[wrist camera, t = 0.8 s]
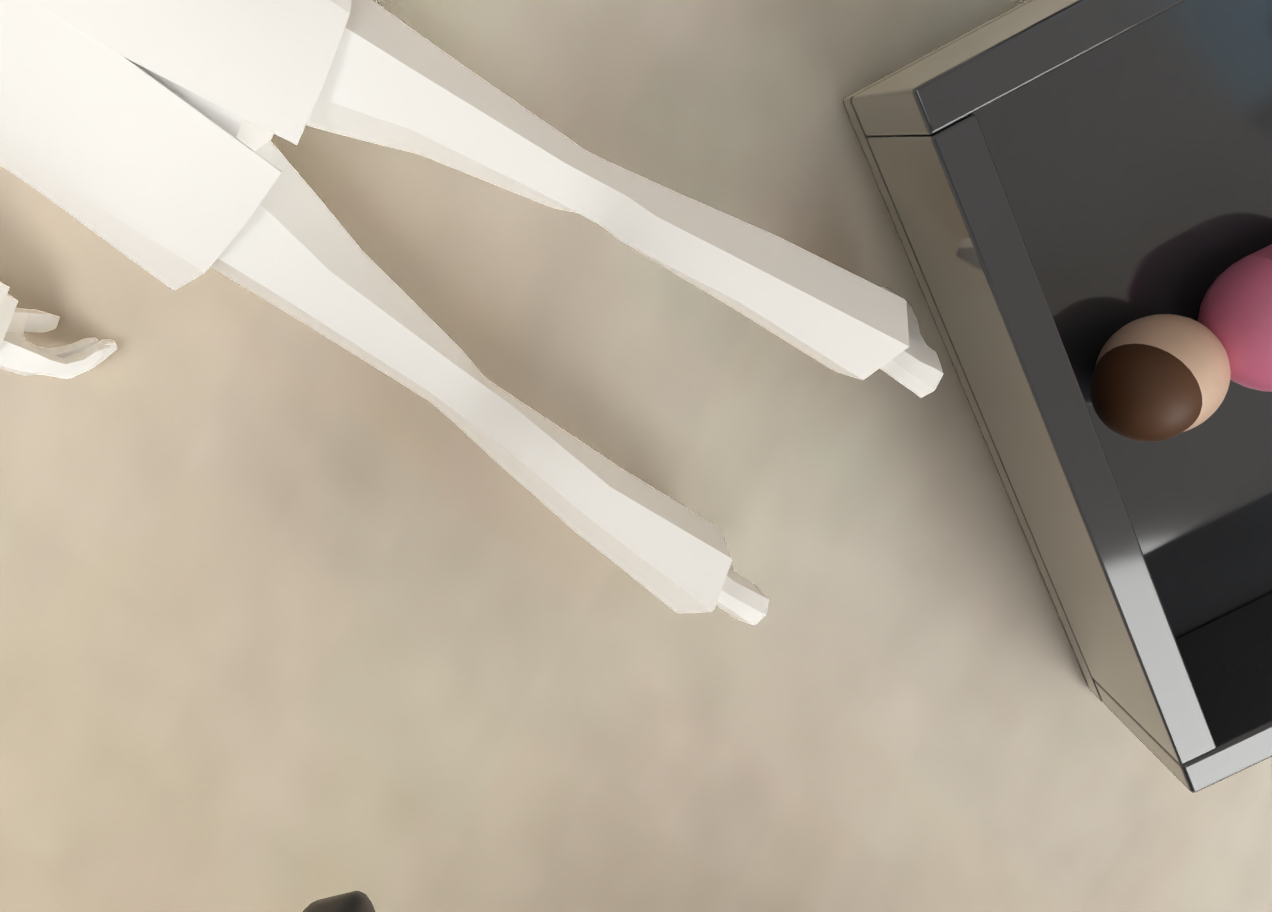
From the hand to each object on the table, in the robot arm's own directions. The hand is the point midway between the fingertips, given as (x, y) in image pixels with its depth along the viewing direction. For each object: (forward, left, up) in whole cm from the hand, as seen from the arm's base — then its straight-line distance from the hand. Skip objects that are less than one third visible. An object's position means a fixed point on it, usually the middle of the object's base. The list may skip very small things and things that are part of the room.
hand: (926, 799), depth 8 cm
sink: (-4, -11, -14) cm, 18 cm away
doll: (-4, -11, -13) cm, 18 cm away
